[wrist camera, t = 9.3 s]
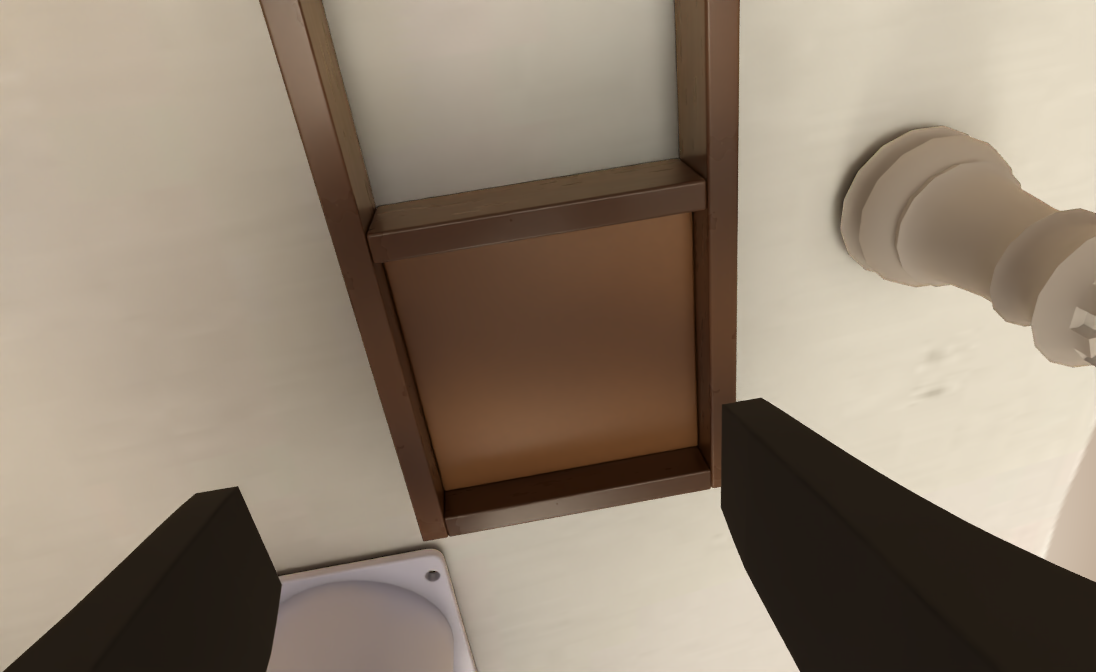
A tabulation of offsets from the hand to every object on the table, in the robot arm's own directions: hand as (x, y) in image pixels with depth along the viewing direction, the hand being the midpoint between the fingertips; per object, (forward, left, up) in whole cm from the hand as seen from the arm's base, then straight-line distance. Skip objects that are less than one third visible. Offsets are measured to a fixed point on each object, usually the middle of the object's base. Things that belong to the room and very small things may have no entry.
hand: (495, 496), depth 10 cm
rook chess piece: (0, -13, -10) cm, 16 cm away
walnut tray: (+2, -2, -10) cm, 10 cm away
